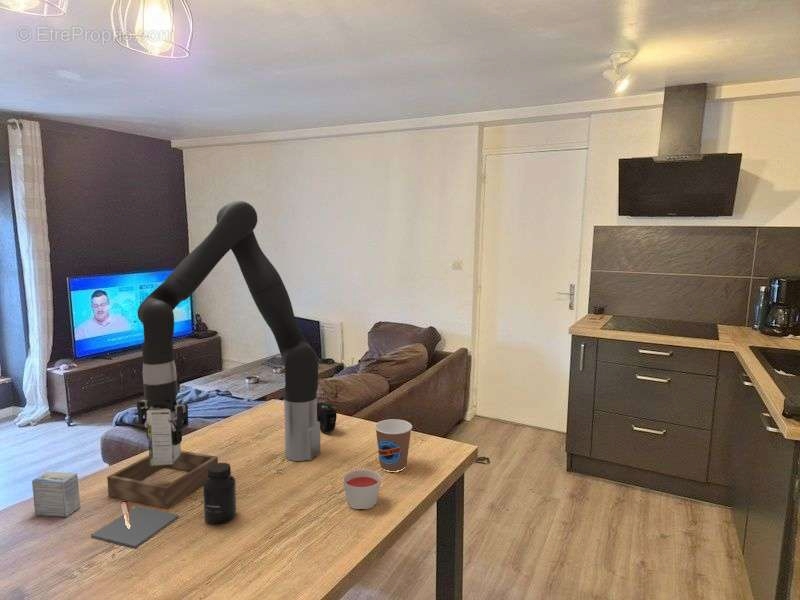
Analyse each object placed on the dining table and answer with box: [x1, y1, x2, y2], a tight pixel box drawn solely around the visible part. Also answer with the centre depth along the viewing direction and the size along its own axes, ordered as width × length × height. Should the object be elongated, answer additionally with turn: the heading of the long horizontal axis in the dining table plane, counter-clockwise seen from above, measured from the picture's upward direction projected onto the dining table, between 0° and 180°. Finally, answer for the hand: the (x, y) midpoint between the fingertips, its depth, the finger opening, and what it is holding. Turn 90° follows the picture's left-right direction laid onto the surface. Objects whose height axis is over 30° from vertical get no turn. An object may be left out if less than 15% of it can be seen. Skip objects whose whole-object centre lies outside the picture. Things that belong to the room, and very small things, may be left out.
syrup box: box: [147, 402, 182, 466], centre depth 125 cm, size 6×6×14 cm
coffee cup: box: [374, 418, 413, 471], centre depth 137 cm, size 10×10×12 cm
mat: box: [90, 505, 180, 549], centre depth 108 cm, size 12×12×1 cm
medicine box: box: [31, 471, 81, 518], centre depth 114 cm, size 8×4×9 cm, turn 84°
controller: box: [317, 402, 338, 433], centre depth 163 cm, size 4×12×10 cm, turn 32°
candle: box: [342, 468, 382, 510], centre depth 118 cm, size 9×9×6 cm
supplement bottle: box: [203, 462, 237, 526], centre depth 112 cm, size 7×7×12 cm
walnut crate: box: [106, 450, 219, 510], centre depth 127 cm, size 18×18×5 cm
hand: (164, 442), depth 126 cm, fingers closed on syrup box, 7 cm apart
